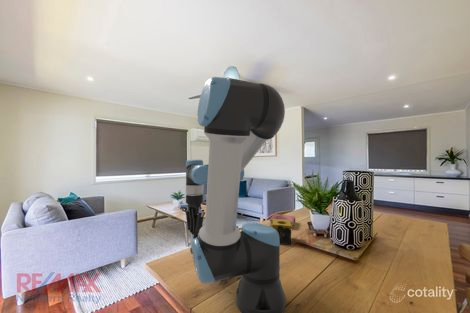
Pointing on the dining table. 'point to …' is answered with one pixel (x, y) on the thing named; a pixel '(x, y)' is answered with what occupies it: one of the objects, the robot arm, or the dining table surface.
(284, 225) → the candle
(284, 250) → the dining table surface
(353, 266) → the dining table surface
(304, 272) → the dining table surface
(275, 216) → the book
